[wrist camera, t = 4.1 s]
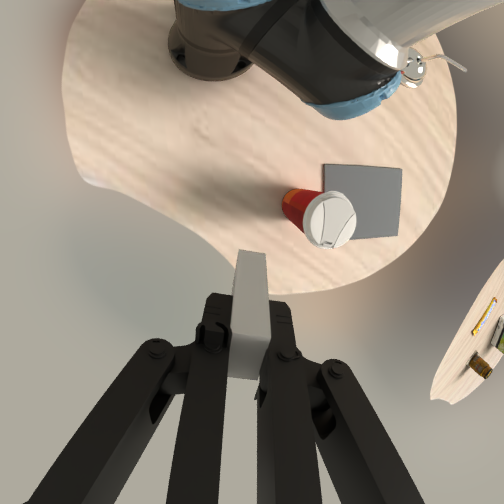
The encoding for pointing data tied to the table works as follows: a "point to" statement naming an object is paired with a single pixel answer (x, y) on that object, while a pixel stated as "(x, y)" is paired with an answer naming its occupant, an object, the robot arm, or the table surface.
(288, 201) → the paper cup
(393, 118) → the table surface
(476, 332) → the candy bar
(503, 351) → the tea box
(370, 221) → the mat
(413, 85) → the cup with straw
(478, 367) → the condiment
